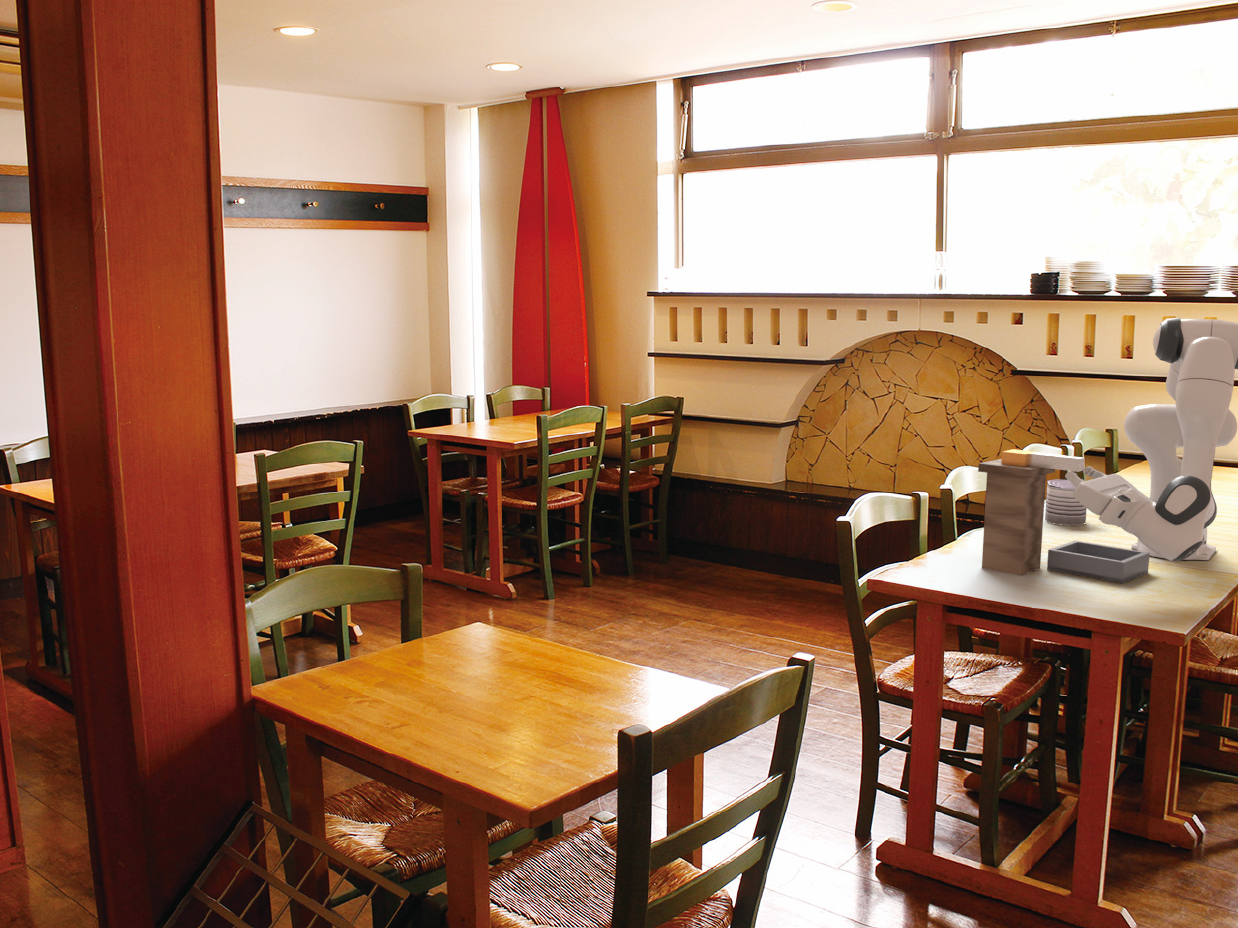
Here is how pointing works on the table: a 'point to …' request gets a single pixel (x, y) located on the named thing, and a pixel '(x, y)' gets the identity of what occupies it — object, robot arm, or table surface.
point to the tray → (1098, 561)
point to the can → (1063, 504)
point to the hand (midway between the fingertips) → (1076, 471)
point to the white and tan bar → (1042, 460)
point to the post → (1013, 517)
